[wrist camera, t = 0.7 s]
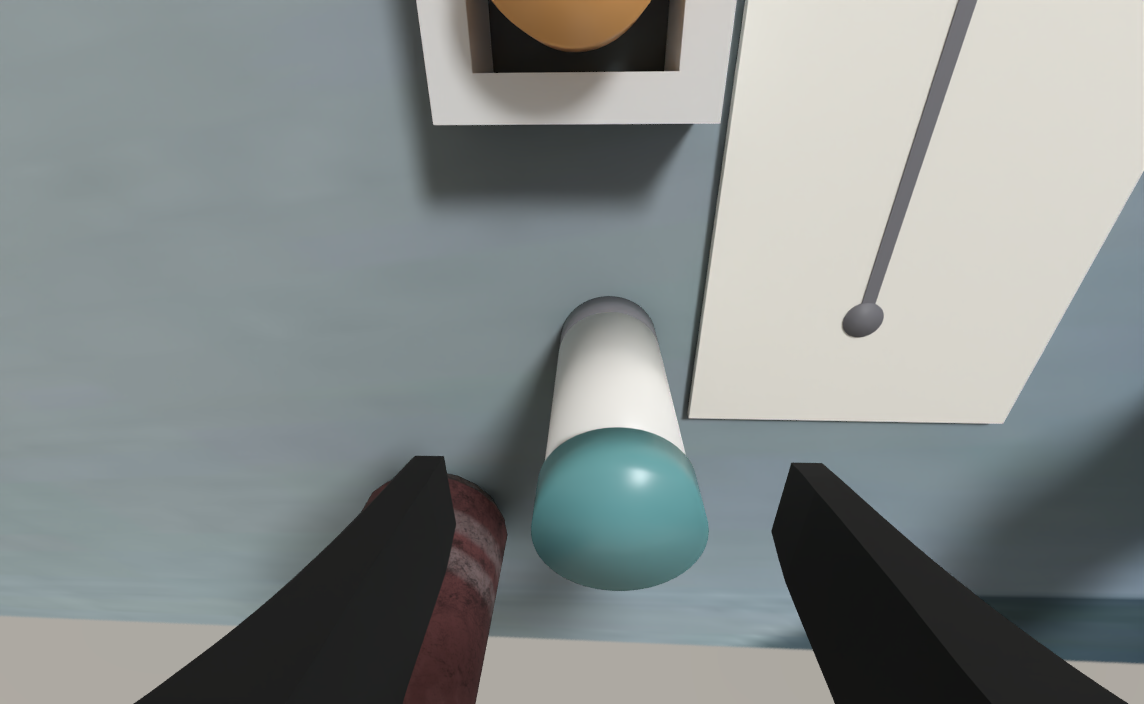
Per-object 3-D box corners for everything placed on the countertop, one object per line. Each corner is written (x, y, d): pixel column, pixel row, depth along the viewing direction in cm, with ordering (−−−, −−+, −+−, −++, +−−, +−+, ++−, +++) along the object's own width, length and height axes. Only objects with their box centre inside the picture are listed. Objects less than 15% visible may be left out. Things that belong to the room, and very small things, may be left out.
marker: (662, 293, 15) (720, 472, 8) (654, 382, 17) (697, 593, 10) (556, 293, 15) (526, 468, 8) (559, 381, 17) (535, 588, 10)
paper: (1454, -423, 8) (1488, -442, 8) (996, 418, 17) (1003, 424, 17) (800, -392, 9) (807, -410, 8) (687, 413, 17) (689, 418, 17)
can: (446, 581, 23) (281, 1142, 11) (341, 506, 21) (-18, 1112, 9) (541, 531, 21) (469, 1151, 9) (436, 441, 19) (142, 1116, 6)
